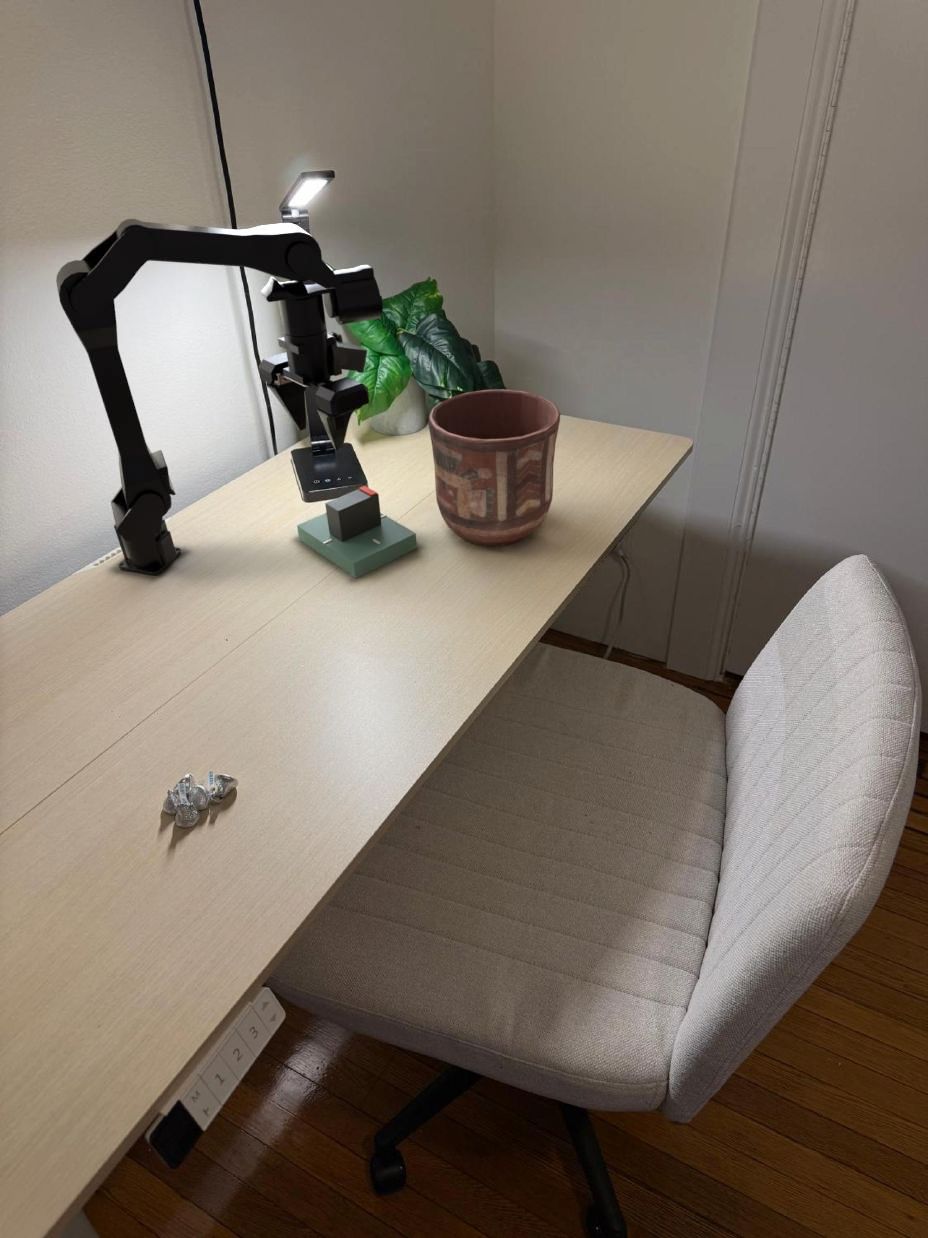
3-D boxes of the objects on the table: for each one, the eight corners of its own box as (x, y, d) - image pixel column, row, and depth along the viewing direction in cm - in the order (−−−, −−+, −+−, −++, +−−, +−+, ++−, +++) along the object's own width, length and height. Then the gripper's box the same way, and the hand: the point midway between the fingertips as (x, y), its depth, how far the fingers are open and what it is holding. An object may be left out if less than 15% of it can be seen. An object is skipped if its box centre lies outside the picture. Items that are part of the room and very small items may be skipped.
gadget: (342, 542, 115) (338, 509, 112) (329, 533, 117) (324, 501, 114) (381, 524, 119) (378, 492, 116) (368, 516, 121) (364, 484, 118)
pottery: (518, 571, 113) (520, 451, 102) (413, 538, 120) (404, 423, 109) (573, 514, 125) (580, 401, 114) (474, 487, 132) (472, 379, 121)
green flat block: (298, 540, 121) (295, 524, 119) (359, 513, 127) (357, 497, 125) (355, 578, 112) (353, 562, 111) (417, 547, 118) (416, 532, 117)
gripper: (396, 330, 107) (404, 441, 117) (315, 301, 118) (329, 404, 128) (326, 352, 101) (340, 467, 111) (248, 319, 112) (267, 426, 122)
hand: (320, 438), depth 118 cm, fingers open, 9 cm apart
